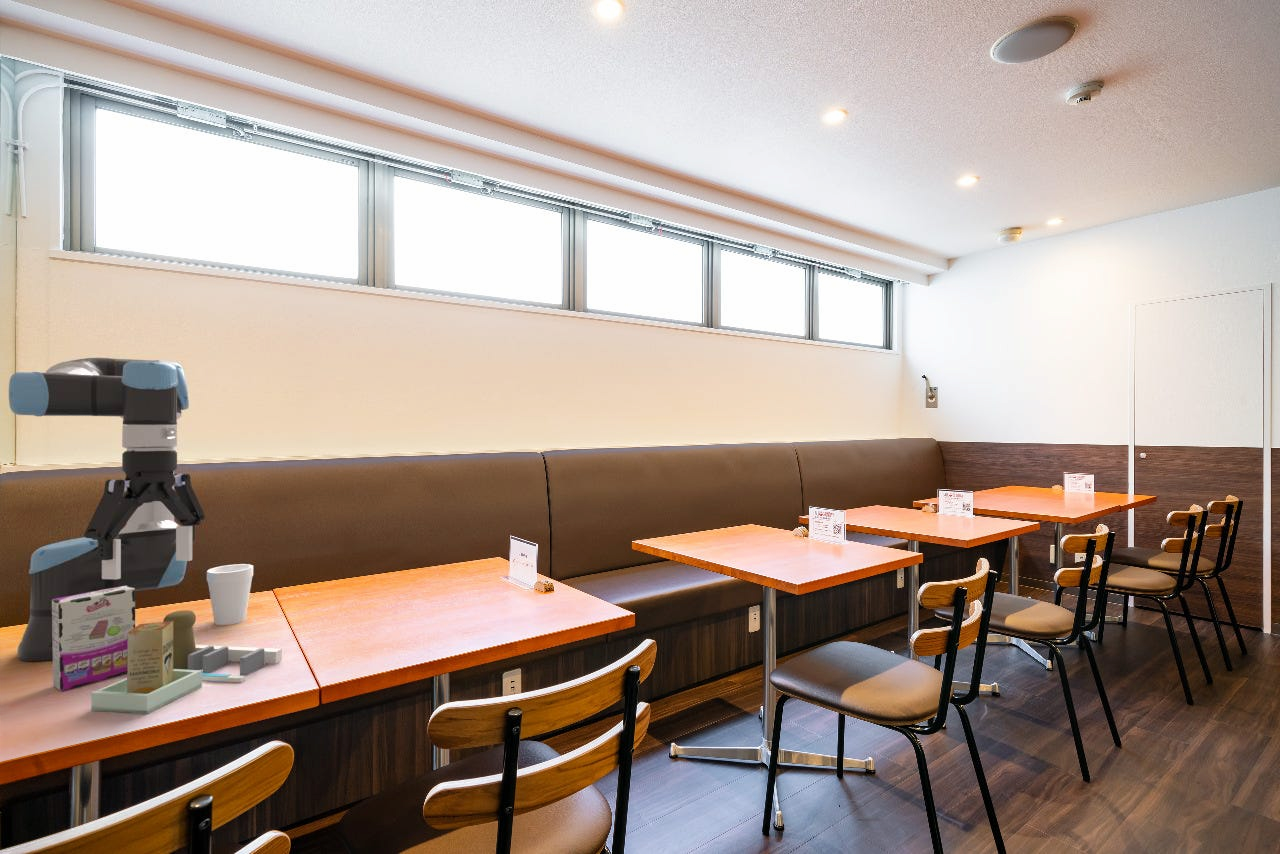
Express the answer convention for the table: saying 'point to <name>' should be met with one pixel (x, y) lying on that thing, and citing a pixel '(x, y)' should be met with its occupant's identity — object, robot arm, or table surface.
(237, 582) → the foam cup
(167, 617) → the cork
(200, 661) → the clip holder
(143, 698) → the tray
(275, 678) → the table surface
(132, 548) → the robot arm
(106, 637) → the candy bar box
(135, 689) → the shoe polish box
